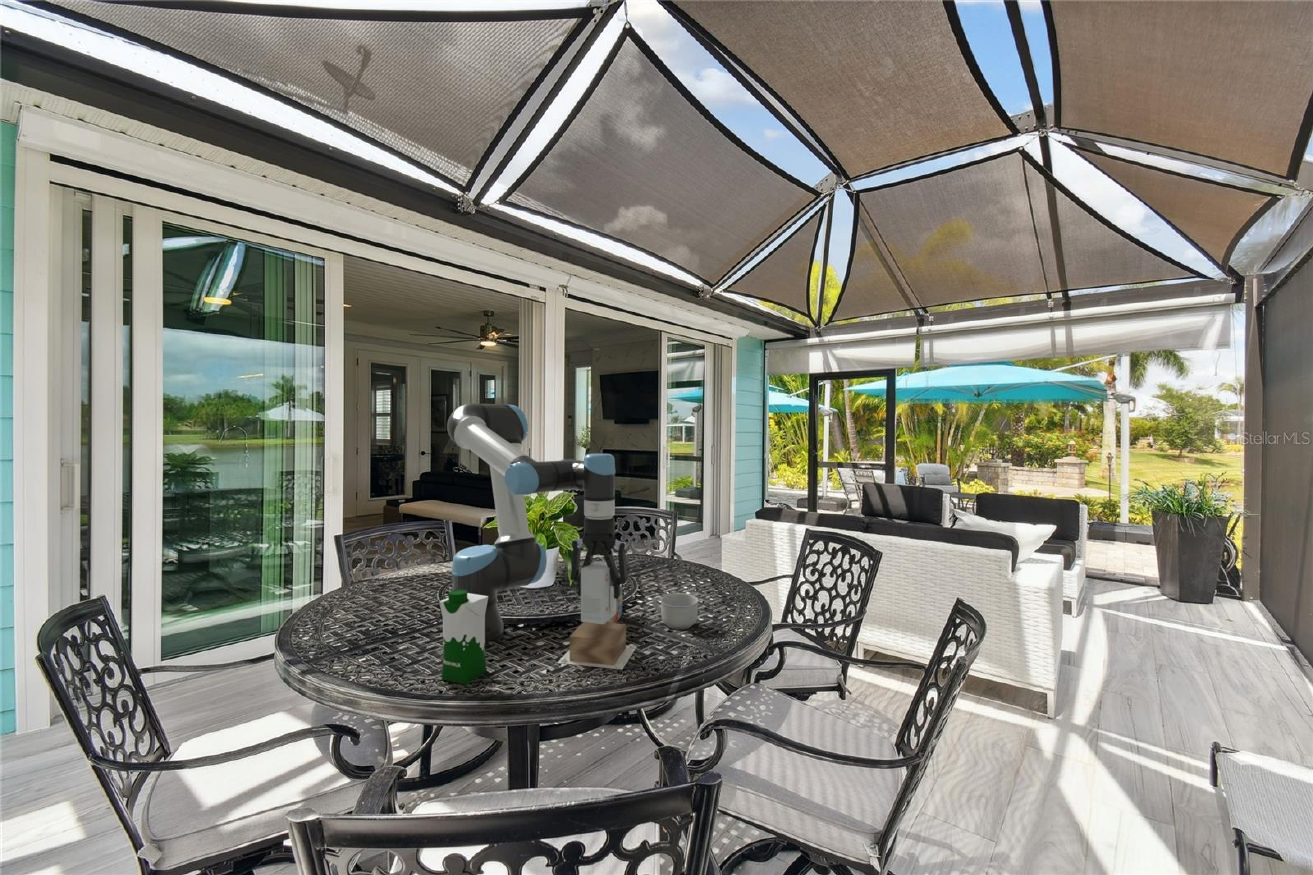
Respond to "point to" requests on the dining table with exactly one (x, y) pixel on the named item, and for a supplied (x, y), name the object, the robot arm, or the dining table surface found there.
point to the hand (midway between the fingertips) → (599, 609)
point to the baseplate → (617, 665)
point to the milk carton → (463, 636)
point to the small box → (596, 593)
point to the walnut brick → (598, 643)
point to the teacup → (678, 610)
